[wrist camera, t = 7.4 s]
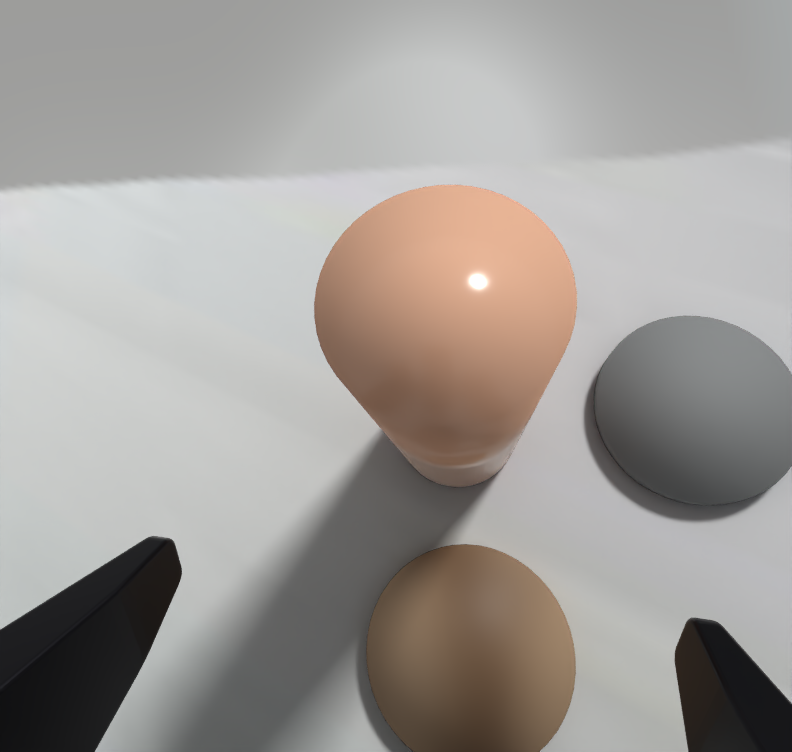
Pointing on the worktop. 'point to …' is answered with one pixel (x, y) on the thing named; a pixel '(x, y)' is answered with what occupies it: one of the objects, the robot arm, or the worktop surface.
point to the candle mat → (696, 410)
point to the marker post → (447, 324)
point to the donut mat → (470, 654)
